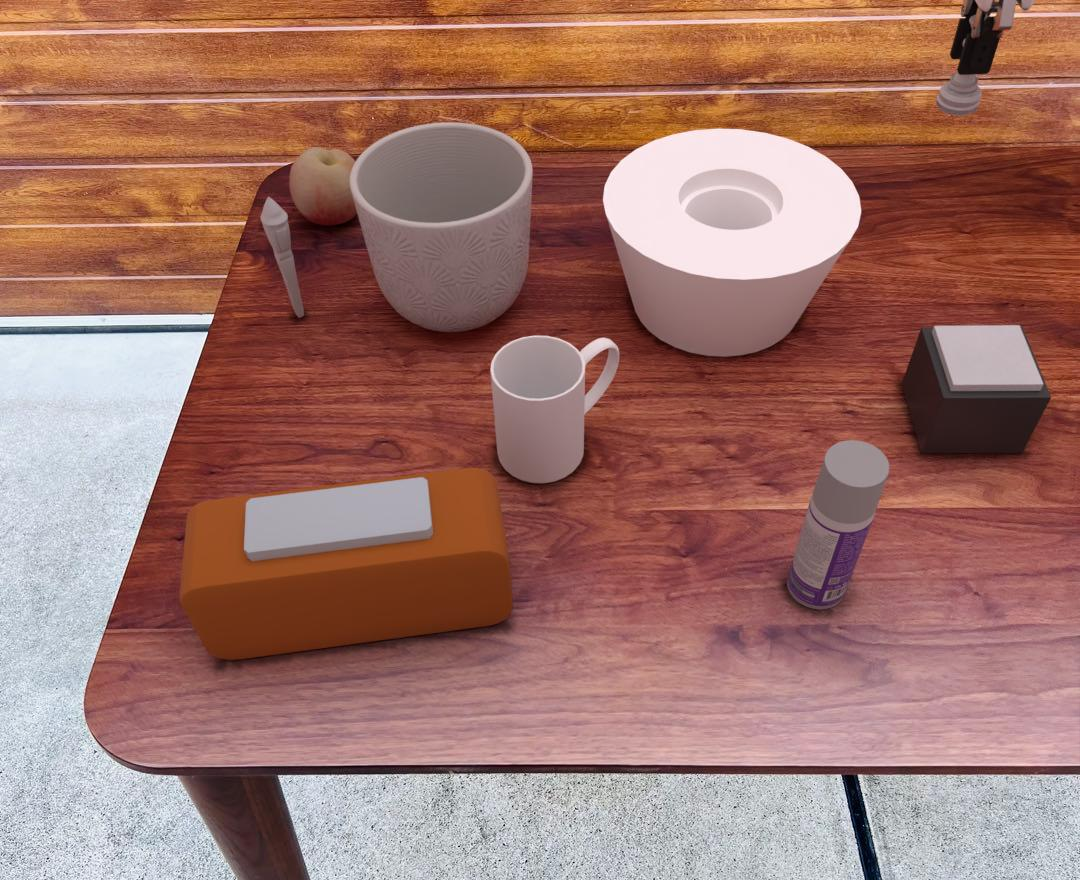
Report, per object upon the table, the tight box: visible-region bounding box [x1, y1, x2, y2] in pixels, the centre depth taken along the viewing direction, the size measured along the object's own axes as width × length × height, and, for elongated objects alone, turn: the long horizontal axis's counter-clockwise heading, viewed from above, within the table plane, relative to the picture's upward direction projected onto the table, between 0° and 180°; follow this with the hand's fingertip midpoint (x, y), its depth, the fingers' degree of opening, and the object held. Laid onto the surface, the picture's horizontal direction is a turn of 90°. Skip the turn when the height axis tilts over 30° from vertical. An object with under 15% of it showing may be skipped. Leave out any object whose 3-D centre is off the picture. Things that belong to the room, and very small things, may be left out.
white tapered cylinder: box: [602, 128, 862, 358], centre depth 99 cm, size 24×24×12 cm
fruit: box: [288, 146, 357, 226], centre depth 111 cm, size 8×8×8 cm
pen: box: [259, 196, 305, 319], centre depth 99 cm, size 2×3×14 cm
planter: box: [349, 121, 534, 333], centre depth 99 cm, size 17×17×15 cm
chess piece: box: [935, 13, 991, 117], centre depth 105 cm, size 4×4×10 cm
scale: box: [901, 324, 1052, 454], centre depth 90 cm, size 9×9×8 cm
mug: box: [489, 335, 621, 484], centre depth 88 cm, size 12×8×10 cm, turn 124°
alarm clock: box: [178, 467, 514, 661], centre depth 78 cm, size 24×8×11 cm, turn 98°
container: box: [786, 439, 890, 610], centre depth 76 cm, size 5×5×15 cm
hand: (969, 63), depth 105 cm, fingers closed on chess piece, 2 cm apart
